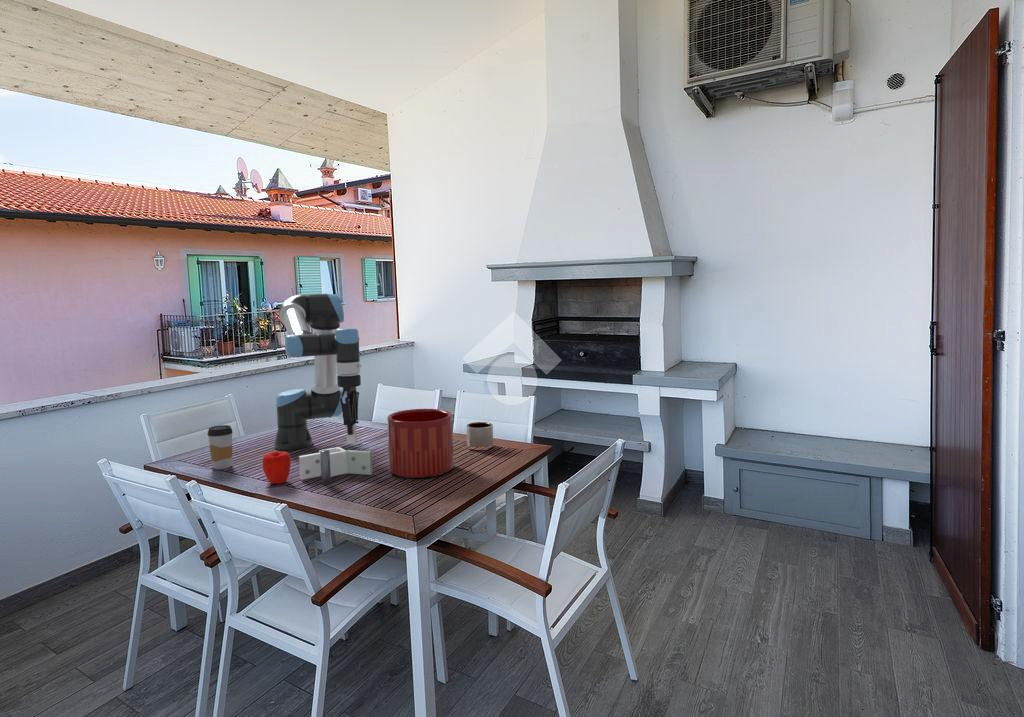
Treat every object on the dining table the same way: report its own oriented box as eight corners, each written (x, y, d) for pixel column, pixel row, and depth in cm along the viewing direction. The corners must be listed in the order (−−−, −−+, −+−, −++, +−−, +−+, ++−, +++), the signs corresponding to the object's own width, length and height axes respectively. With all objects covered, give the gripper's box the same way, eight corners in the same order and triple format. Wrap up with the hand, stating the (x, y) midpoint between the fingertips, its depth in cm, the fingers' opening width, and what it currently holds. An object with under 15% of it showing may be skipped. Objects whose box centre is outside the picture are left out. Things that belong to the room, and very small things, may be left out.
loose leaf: (349, 471, 205) (348, 450, 204) (372, 473, 203) (371, 451, 202) (346, 473, 203) (345, 451, 202) (370, 475, 201) (369, 452, 201)
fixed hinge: (297, 476, 202) (296, 454, 201) (340, 468, 211) (339, 446, 210) (304, 482, 196) (303, 459, 195) (348, 473, 205) (347, 451, 204)
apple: (263, 488, 189) (261, 456, 188) (263, 481, 197) (261, 450, 196) (292, 485, 193) (290, 453, 192) (291, 477, 201) (289, 447, 200)
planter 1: (399, 484, 193) (397, 425, 190) (381, 466, 213) (379, 412, 210) (463, 473, 203) (462, 417, 201) (440, 457, 223) (439, 406, 221)
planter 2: (495, 450, 233) (495, 426, 232) (469, 452, 230) (468, 428, 229) (490, 443, 243) (489, 421, 242) (464, 445, 240) (464, 422, 239)
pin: (320, 482, 195) (318, 450, 194) (329, 480, 197) (327, 449, 196) (323, 484, 193) (321, 452, 192) (332, 482, 195) (330, 451, 193)
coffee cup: (240, 464, 216) (237, 425, 214) (222, 471, 208) (219, 430, 207) (222, 462, 219) (220, 424, 217) (204, 469, 211) (201, 429, 209)
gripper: (353, 377, 186) (356, 448, 189) (365, 371, 199) (368, 438, 202) (330, 377, 186) (334, 448, 189) (344, 372, 199) (347, 438, 202)
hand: (351, 443), depth 195 cm, fingers closed
